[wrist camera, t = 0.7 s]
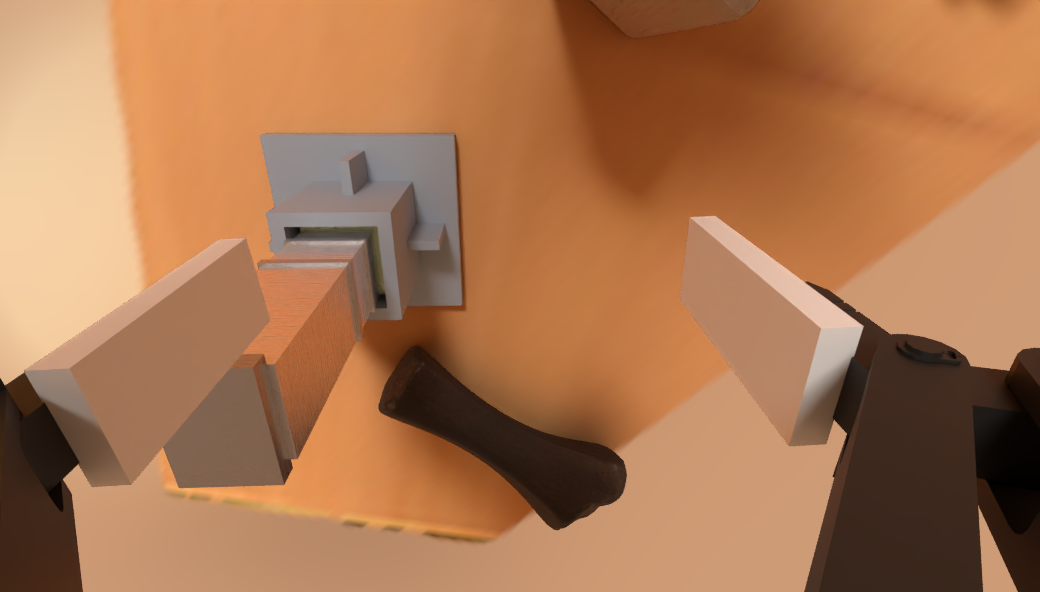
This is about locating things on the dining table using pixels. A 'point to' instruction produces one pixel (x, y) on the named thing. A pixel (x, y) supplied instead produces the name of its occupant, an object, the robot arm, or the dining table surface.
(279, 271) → the column
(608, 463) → the dark brown bone
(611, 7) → the wooden block
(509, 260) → the dining table surface
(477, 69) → the dining table surface
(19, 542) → the robot arm
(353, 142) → the stand base
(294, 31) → the dining table surface
